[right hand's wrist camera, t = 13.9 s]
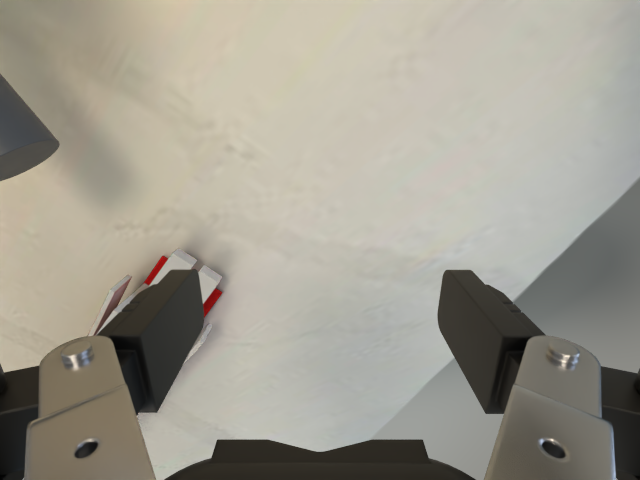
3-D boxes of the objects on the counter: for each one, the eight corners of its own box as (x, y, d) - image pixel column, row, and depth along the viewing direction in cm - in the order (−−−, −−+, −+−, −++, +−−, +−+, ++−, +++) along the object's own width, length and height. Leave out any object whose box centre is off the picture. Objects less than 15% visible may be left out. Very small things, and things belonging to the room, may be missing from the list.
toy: (231, 312, 37) (89, 496, 41) (247, 271, 50) (137, 415, 54) (131, 248, 35) (-10, 452, 39) (174, 222, 47) (65, 377, 52)
